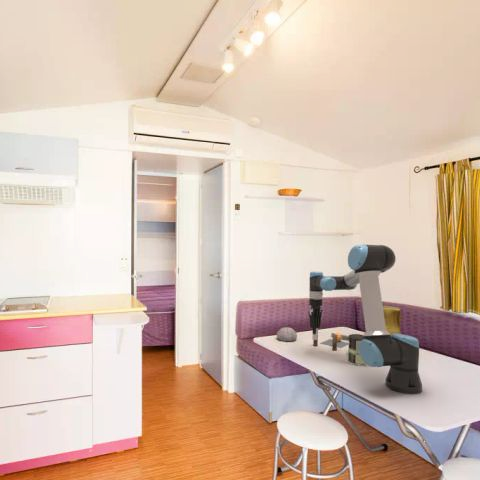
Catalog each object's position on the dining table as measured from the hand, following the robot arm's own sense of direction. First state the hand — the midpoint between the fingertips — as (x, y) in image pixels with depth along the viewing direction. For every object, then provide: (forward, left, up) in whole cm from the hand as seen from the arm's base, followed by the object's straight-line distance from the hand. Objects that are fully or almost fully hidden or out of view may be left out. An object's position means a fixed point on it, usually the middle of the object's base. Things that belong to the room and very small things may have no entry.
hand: (315, 339), depth 222 cm
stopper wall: (+41, 0, -8) cm, 42 cm away
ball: (+33, +2, -5) cm, 33 cm away
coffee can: (0, -26, -8) cm, 27 cm away
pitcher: (+43, -27, -8) cm, 51 cm away
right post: (+13, -6, -8) cm, 16 cm away
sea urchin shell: (+13, +27, -8) cm, 32 cm away
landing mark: (+27, 0, -8) cm, 28 cm away
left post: (+13, +7, -8) cm, 17 cm away
